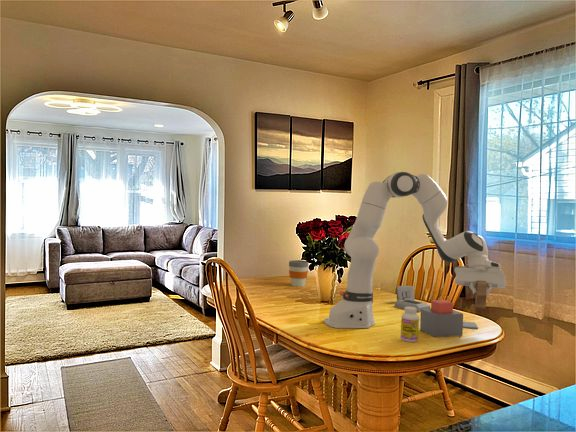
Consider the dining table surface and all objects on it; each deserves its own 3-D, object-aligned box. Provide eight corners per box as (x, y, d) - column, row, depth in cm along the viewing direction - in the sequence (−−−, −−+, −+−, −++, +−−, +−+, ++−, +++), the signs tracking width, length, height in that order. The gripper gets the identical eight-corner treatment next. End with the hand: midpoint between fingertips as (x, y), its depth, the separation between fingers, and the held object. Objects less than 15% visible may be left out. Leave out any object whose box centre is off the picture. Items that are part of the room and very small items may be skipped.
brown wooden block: (485, 308, 196) (487, 282, 196) (476, 307, 197) (477, 281, 197) (484, 306, 200) (485, 281, 200) (475, 306, 201) (476, 280, 200)
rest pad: (477, 328, 204) (477, 327, 204) (455, 327, 207) (455, 325, 207) (474, 323, 213) (474, 322, 213) (453, 322, 215) (453, 320, 215)
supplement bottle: (399, 341, 183) (400, 308, 183) (401, 336, 189) (402, 305, 189) (417, 343, 181) (418, 310, 180) (418, 338, 187) (420, 306, 187)
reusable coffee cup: (287, 283, 306) (287, 260, 305) (306, 283, 307) (306, 260, 307) (289, 286, 293) (290, 262, 293) (309, 286, 295) (309, 263, 294)
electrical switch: (399, 304, 251) (398, 286, 252) (394, 302, 256) (394, 285, 257) (414, 303, 254) (414, 286, 254) (410, 302, 259) (410, 285, 259)
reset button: (439, 315, 193) (439, 303, 193) (430, 312, 199) (431, 300, 199) (452, 315, 195) (453, 303, 195) (443, 311, 201) (444, 299, 201)
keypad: (418, 305, 233) (394, 300, 244) (418, 313, 233) (394, 307, 245) (430, 303, 239) (406, 298, 250) (430, 310, 239) (405, 305, 251)
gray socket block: (434, 337, 190) (435, 315, 190) (420, 329, 201) (420, 308, 200) (462, 335, 194) (463, 313, 193) (446, 328, 204) (447, 307, 204)
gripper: (454, 261, 207) (456, 287, 198) (505, 264, 202) (508, 291, 193) (453, 270, 212) (454, 295, 202) (502, 273, 207) (505, 300, 198)
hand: (481, 293), depth 198 cm, fingers closed on brown wooden block, 4 cm apart
